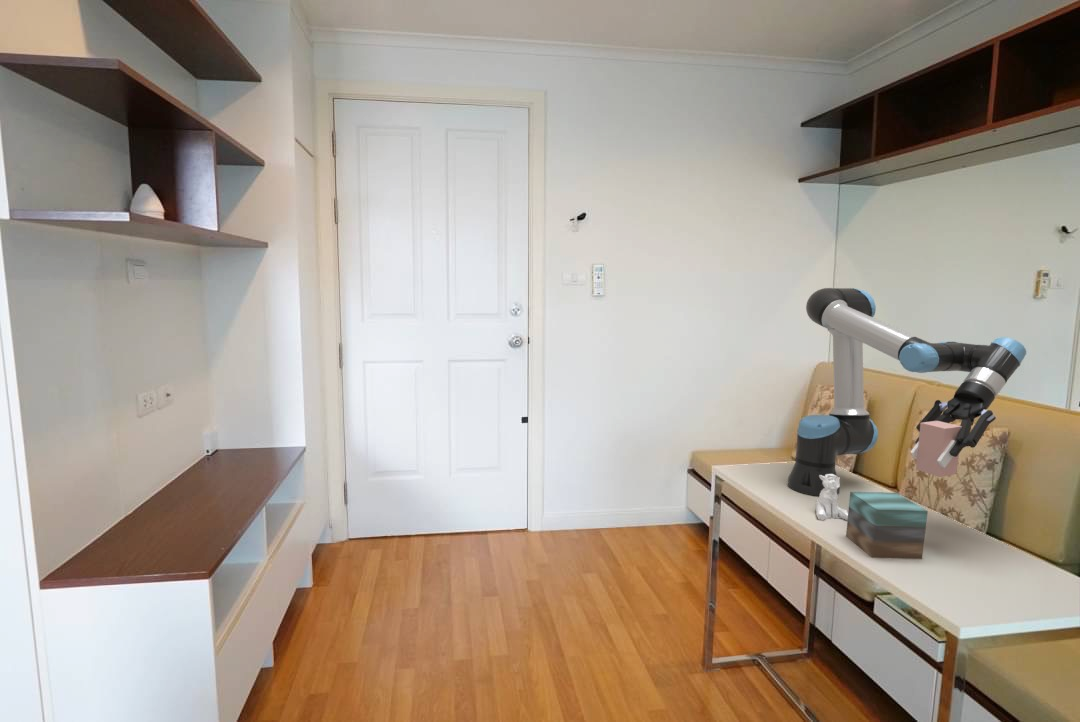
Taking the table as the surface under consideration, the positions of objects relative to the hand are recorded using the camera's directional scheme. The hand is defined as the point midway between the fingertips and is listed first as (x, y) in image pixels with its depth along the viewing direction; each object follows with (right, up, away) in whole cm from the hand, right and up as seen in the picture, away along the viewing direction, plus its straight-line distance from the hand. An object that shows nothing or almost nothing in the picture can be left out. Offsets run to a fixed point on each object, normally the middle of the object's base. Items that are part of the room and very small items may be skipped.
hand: (927, 459), depth 140 cm
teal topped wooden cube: (-9, -22, +3) cm, 24 cm away
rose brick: (+3, -3, +2) cm, 5 cm away
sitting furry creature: (-13, -20, +23) cm, 33 cm away
